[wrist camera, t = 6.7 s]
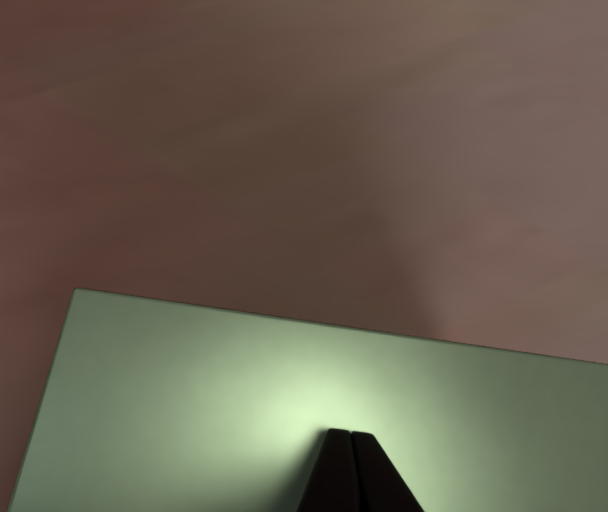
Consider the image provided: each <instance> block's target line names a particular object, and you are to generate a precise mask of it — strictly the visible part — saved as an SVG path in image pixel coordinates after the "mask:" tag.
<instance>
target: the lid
mask: <svg viewBox="0 0 608 512" xmlns="http://www.w3.org/2000/svg"><path fill="white" fill-rule="evenodd" d="M329 428H337V429H345V430H348V431H349V432H350V433H351V432H352V431H360V432H368V433H371V434H373V435H374V436H375V437H376V439H377V440H378V442H379V443H380V445H381V446H382V448H383V449H384V451H385V452H386V454H387V455H388V457H389V458H390V460H391V461H392V463H393V465H394V466H395V468H396V469H397V471H398V472H399V474H400V475H401V477H402V478H403V480H404V481H405V483H406V484H407V486H408V487H409V489H410V490H411V492H412V493H413V495H414V496H415V498H416V499H417V501H418V502H419V504H420V505H421V507H422V508H423V510H424V511H425V512H608V364H604V363H597V362H590V361H583V360H576V359H570V358H563V357H556V356H549V355H542V354H535V353H528V352H521V351H514V350H507V349H500V348H494V347H487V346H480V345H473V344H466V343H459V342H452V341H445V340H438V339H431V338H425V337H418V336H411V335H404V334H397V333H390V332H383V331H376V330H369V329H362V328H355V327H349V326H342V325H335V324H328V323H321V322H314V321H307V320H300V319H293V318H286V317H279V316H273V315H266V314H259V313H252V312H245V311H238V310H231V309H224V308H217V307H210V306H204V305H197V304H190V303H183V302H176V301H169V300H162V299H155V298H148V297H141V296H134V295H128V294H121V293H114V292H107V291H100V290H93V289H86V288H74V290H73V292H72V296H71V299H70V302H69V305H68V309H67V312H66V315H65V319H64V322H63V325H62V329H61V332H60V335H59V339H58V342H57V345H56V349H55V352H54V355H53V359H52V362H51V365H50V369H49V372H48V375H47V379H46V382H45V385H44V389H43V392H42V395H41V399H40V402H39V405H38V409H37V412H36V415H35V419H34V422H33V425H32V429H31V432H30V435H29V439H28V442H27V445H26V449H25V452H24V455H23V459H22V462H21V465H20V469H19V472H18V475H17V479H16V482H15V485H14V489H13V492H12V495H11V499H10V502H9V505H8V509H7V512H296V510H297V508H298V505H299V502H300V500H301V497H302V495H303V492H304V490H305V487H306V484H307V482H308V479H309V477H310V474H311V472H312V469H313V467H314V464H315V461H316V459H317V456H318V454H319V451H320V449H321V446H322V444H323V441H324V438H325V436H326V433H327V431H328V429H329Z"/></svg>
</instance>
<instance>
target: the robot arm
mask: <svg viewBox="0 0 608 512" xmlns="http://www.w3.org/2000/svg"><path fill="white" fill-rule="evenodd" d="M296 512H425V511H424V510H423V508H422V507H421V505H420V504H419V502H418V501H417V499H416V498H415V496H414V495H413V493H412V492H411V490H410V489H409V487H408V486H407V484H406V483H405V481H404V480H403V478H402V477H401V475H400V474H399V472H398V471H397V469H396V468H395V466H394V465H393V463H392V461H391V460H390V458H389V457H388V455H387V454H386V452H385V451H384V449H383V448H382V446H381V445H380V443H379V442H378V440H377V439H376V437H375V436H374V435H373V434H371V433H368V432H360V431H352V432H351V433H350V432H349V431H348V430H345V429H337V428H329V429H328V431H327V433H326V436H325V438H324V441H323V444H322V446H321V449H320V451H319V454H318V456H317V459H316V461H315V464H314V467H313V469H312V472H311V474H310V477H309V479H308V482H307V484H306V487H305V490H304V492H303V495H302V497H301V500H300V502H299V505H298V508H297V510H296Z"/></svg>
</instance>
